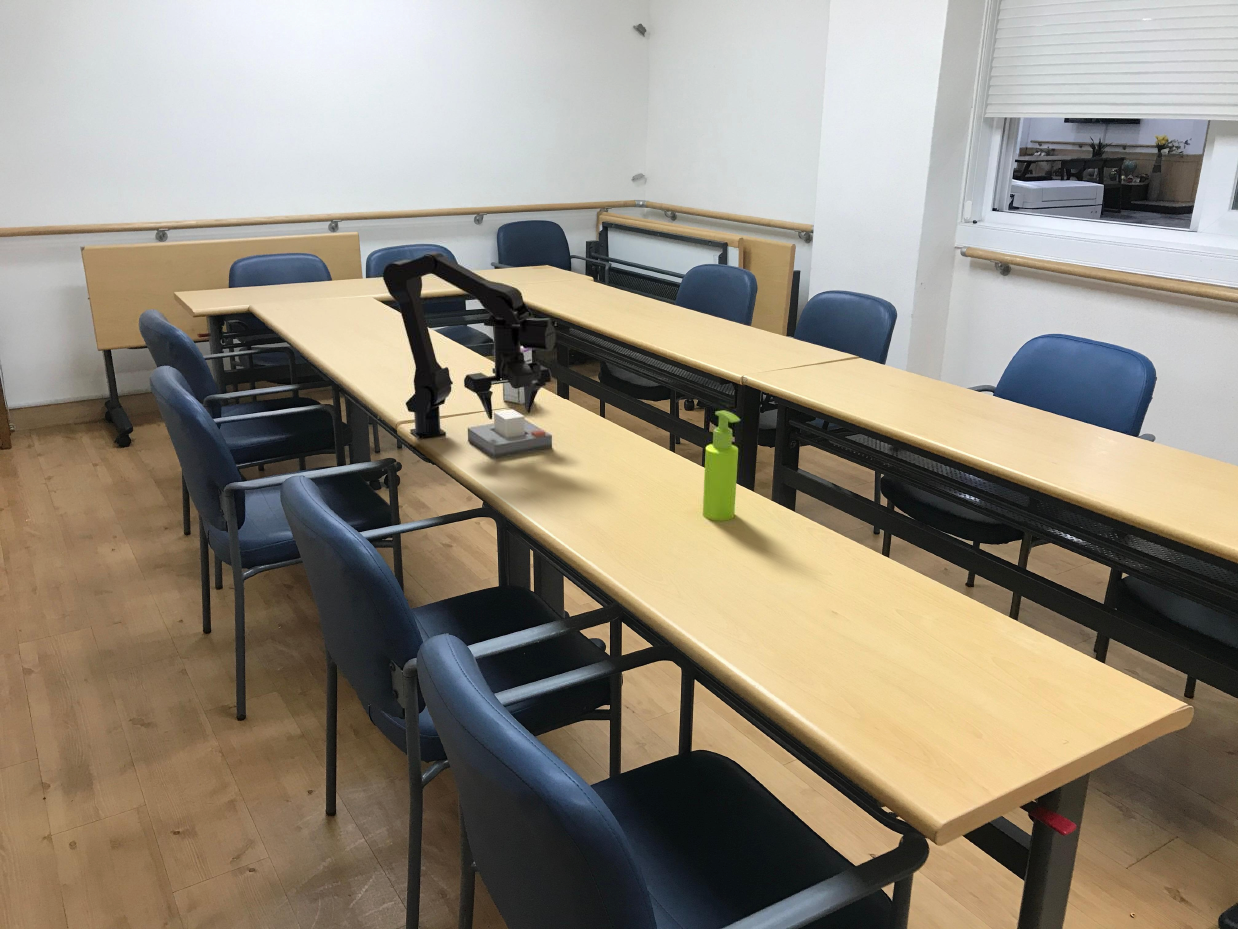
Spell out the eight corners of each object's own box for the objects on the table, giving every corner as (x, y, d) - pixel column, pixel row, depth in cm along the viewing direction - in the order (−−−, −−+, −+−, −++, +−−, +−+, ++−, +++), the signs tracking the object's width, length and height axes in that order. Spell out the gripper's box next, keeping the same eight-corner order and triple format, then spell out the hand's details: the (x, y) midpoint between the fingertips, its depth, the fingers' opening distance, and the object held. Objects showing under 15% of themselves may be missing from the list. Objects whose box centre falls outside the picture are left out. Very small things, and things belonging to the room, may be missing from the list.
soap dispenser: (716, 525, 173) (722, 420, 166) (696, 511, 179) (701, 409, 172) (743, 519, 176) (750, 415, 169) (722, 506, 181) (728, 405, 174)
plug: (494, 437, 214) (493, 412, 212) (513, 434, 217) (512, 409, 214) (506, 445, 209) (505, 419, 207) (525, 441, 212) (524, 416, 210)
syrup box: (533, 399, 247) (532, 344, 242) (519, 405, 242) (518, 349, 237) (516, 396, 249) (515, 341, 244) (502, 401, 245) (500, 346, 240)
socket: (468, 440, 215) (467, 424, 214) (523, 430, 222) (523, 415, 221) (494, 458, 204) (494, 442, 203) (552, 447, 211) (551, 432, 210)
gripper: (483, 360, 195) (486, 432, 200) (563, 349, 204) (563, 419, 209) (461, 348, 203) (464, 418, 209) (539, 339, 213) (540, 406, 218)
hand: (509, 415), depth 211 cm, fingers open, 9 cm apart
